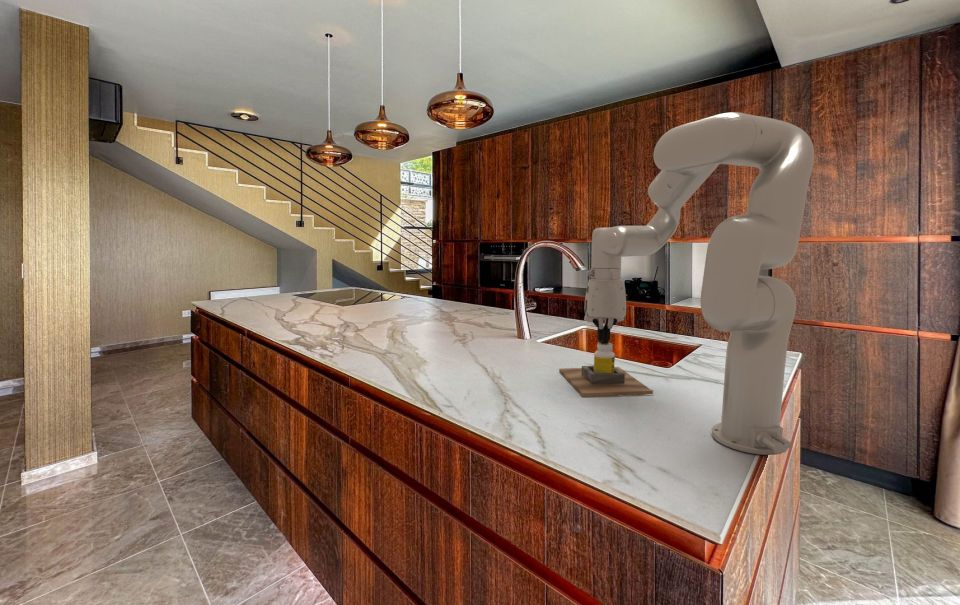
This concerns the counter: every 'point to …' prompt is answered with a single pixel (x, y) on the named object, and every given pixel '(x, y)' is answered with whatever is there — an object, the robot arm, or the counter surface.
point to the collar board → (603, 382)
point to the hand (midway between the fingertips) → (603, 342)
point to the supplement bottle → (604, 359)
